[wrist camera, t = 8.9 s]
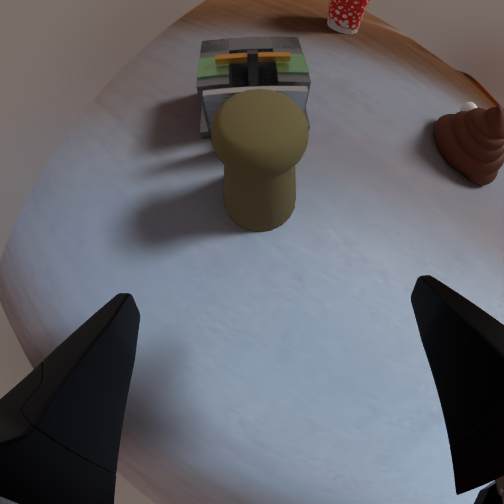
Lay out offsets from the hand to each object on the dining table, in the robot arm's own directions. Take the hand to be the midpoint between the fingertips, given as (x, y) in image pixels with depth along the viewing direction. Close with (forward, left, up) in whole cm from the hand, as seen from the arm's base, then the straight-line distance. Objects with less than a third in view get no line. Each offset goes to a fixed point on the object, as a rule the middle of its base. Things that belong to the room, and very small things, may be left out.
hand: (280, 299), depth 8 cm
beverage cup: (+35, +18, -14) cm, 42 cm away
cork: (+6, +7, -14) cm, 16 cm away
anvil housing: (+12, +13, -14) cm, 22 cm away
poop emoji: (+28, -5, -14) cm, 32 cm away
